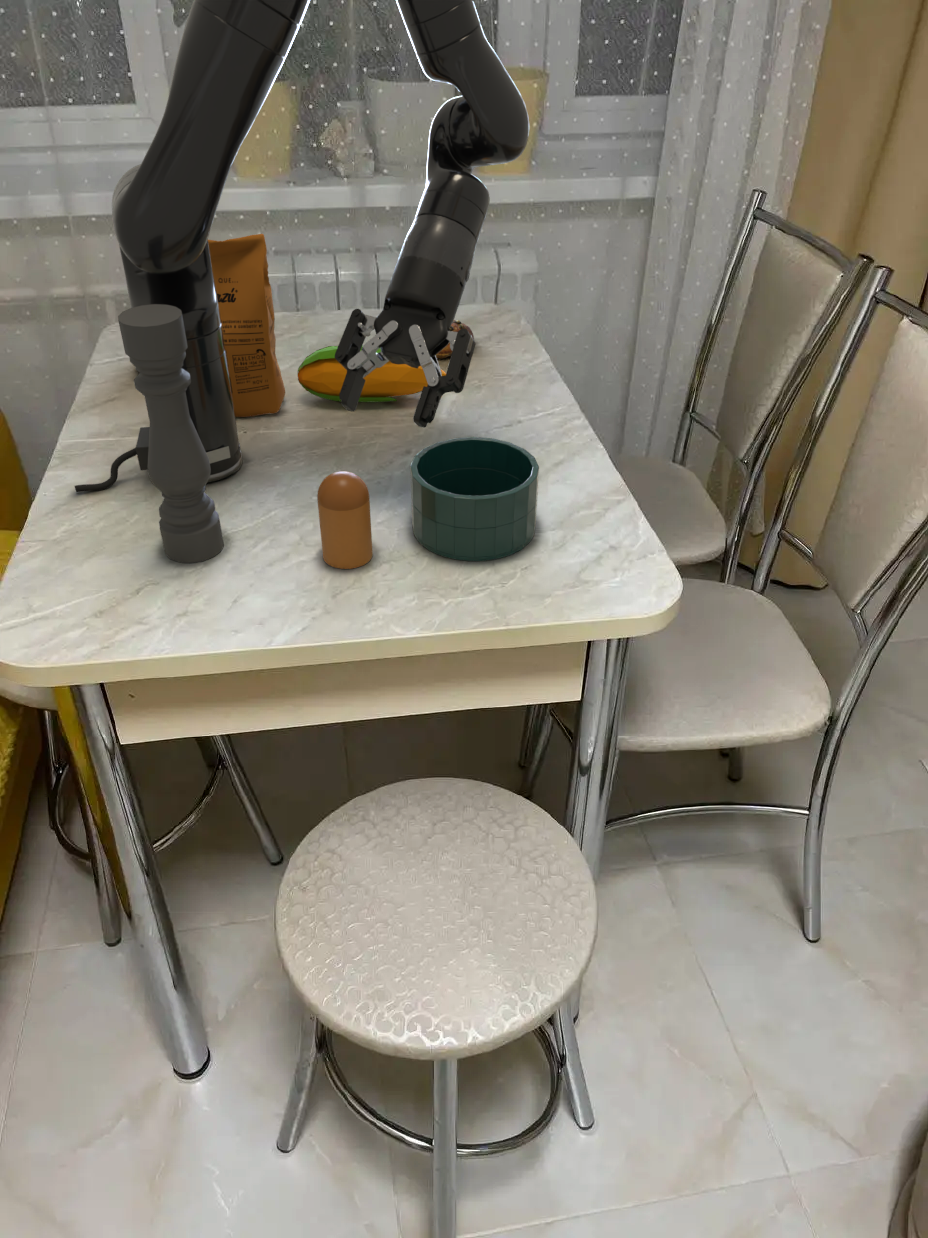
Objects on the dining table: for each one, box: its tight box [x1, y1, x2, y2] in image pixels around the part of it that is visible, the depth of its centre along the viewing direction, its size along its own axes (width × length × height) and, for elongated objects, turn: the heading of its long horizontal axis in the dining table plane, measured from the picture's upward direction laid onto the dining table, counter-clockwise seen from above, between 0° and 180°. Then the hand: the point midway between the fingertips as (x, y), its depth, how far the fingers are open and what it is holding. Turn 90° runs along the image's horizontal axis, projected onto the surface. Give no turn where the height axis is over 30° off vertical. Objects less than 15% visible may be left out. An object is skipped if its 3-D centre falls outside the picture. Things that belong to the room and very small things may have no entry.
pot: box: [409, 436, 540, 562], centre depth 105 cm, size 13×13×8 cm
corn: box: [296, 344, 447, 403], centre depth 131 cm, size 7×8×20 cm
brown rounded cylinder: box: [316, 470, 374, 570], centre depth 100 cm, size 5×5×10 cm
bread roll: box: [436, 319, 475, 360], centre depth 147 cm, size 11×11×5 cm
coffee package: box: [208, 233, 286, 418], centre depth 125 cm, size 10×12×22 cm
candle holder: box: [117, 304, 225, 564], centre depth 96 cm, size 6×6×25 cm
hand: (382, 416), depth 101 cm, fingers open, 8 cm apart
